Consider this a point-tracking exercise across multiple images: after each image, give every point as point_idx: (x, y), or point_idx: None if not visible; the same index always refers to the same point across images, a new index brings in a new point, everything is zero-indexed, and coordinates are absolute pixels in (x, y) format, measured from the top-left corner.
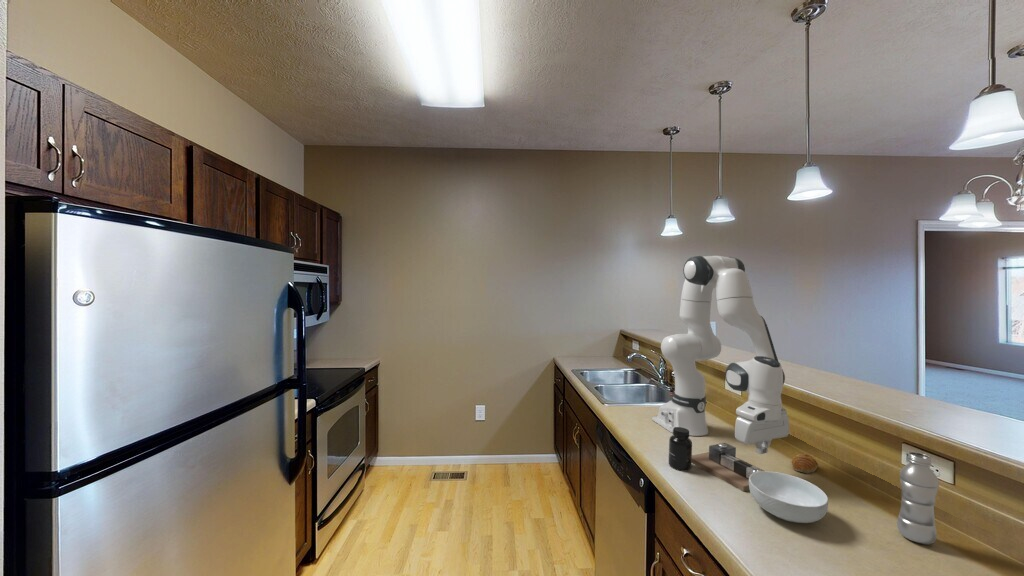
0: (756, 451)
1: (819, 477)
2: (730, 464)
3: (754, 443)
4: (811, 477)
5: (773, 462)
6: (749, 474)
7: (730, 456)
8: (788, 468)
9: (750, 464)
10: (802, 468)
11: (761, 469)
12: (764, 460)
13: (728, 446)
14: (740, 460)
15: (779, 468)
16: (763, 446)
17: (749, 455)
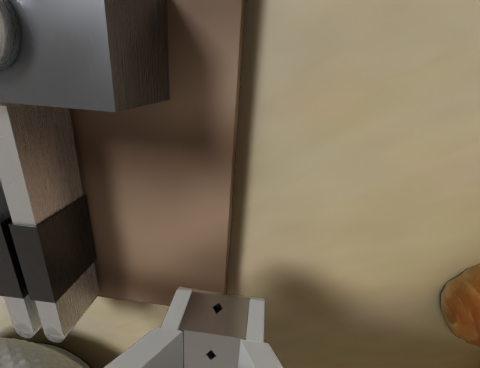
0: (176, 294)
1: (459, 352)
2: None
3: (109, 366)
4: (425, 337)
5: (471, 176)
6: None
7: (4, 157)
8: (448, 254)
9: (224, 176)
10: (456, 329)
11: (224, 238)
12: (456, 132)
13: (51, 53)
14: (28, 234)
15: (401, 232)
16: (241, 361)
17: (463, 22)
